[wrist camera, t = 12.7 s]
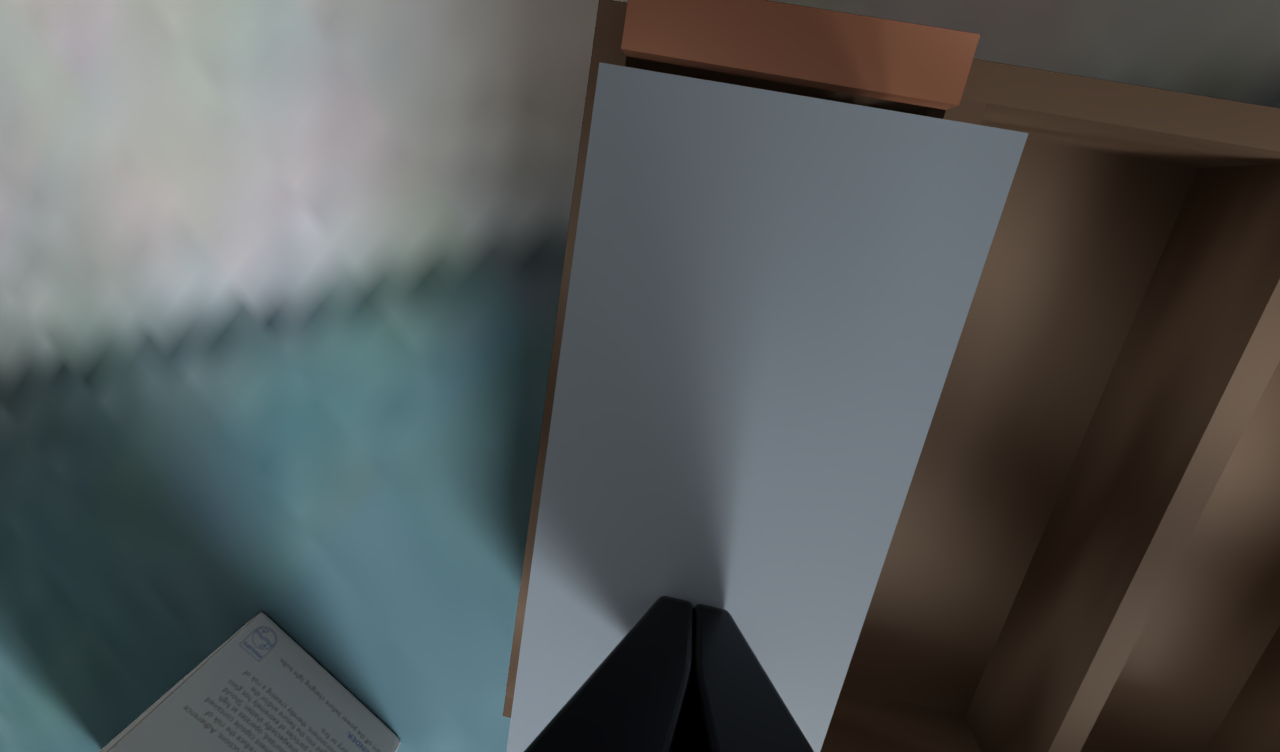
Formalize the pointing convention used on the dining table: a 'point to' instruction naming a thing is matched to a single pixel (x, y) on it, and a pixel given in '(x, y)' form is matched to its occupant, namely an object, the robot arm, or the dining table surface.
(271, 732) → the light bulb box
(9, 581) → the dining table surface
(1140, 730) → the rack
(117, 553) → the dining table surface
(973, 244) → the white rectangular box
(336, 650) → the dining table surface
